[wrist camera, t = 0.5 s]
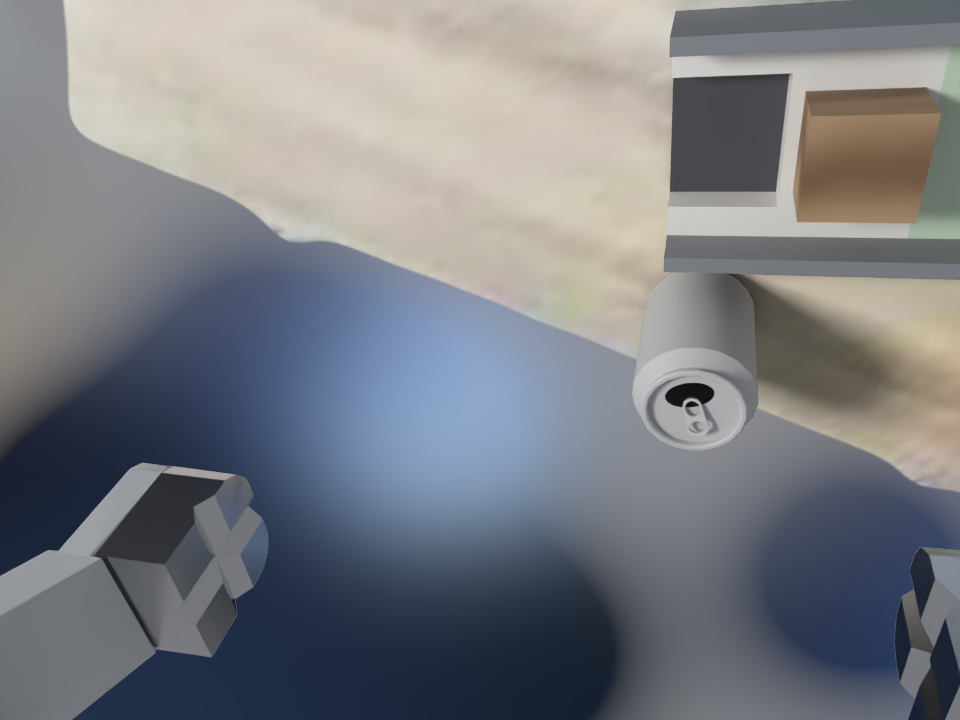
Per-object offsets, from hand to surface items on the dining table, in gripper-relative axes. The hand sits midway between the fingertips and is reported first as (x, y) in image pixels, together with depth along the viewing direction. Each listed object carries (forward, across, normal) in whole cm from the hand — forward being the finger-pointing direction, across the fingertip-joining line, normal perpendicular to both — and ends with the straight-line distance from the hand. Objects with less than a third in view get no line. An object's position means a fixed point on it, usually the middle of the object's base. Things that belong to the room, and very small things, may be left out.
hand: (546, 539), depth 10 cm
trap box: (+43, -13, +10) cm, 46 cm away
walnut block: (+40, -10, +10) cm, 43 cm away
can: (+43, -2, +23) cm, 49 cm away
